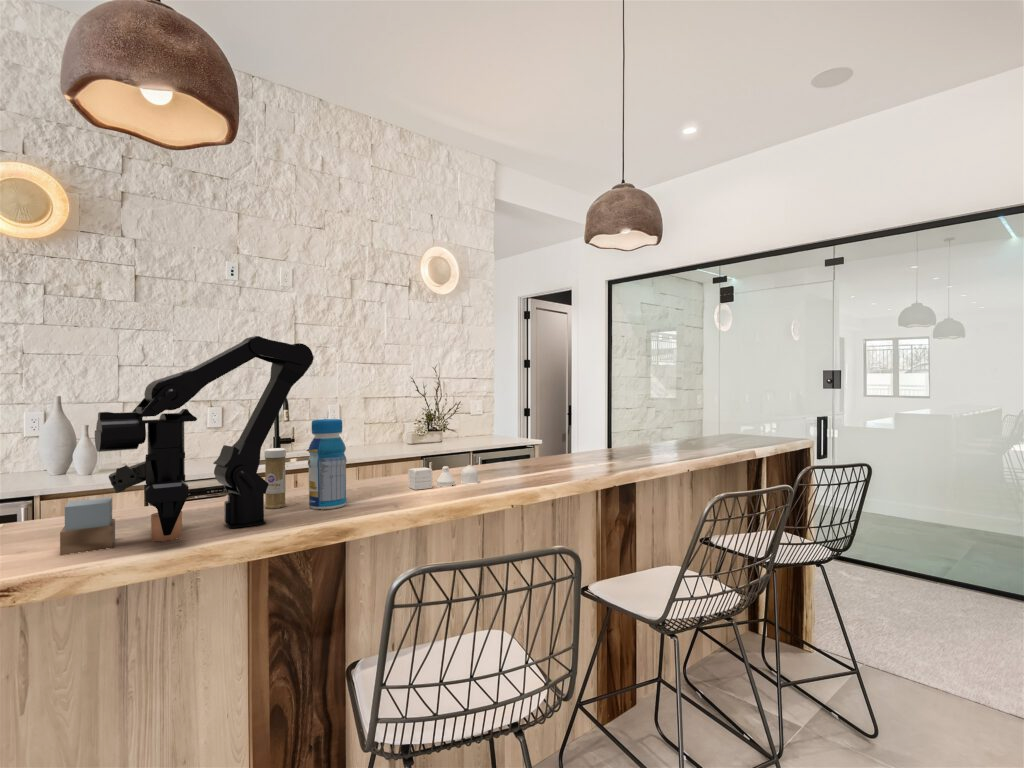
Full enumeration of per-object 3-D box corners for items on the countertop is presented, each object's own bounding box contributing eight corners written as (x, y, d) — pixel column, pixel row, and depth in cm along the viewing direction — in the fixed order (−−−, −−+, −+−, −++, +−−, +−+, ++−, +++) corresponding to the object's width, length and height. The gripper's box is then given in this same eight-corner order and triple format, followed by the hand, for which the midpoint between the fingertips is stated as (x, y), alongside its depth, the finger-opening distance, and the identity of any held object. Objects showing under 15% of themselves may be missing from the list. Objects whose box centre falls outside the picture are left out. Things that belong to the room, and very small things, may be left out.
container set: (415, 491, 144) (415, 470, 144) (408, 488, 148) (408, 468, 149) (482, 483, 154) (481, 464, 154) (473, 481, 159) (473, 462, 159)
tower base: (115, 540, 99) (115, 518, 99) (112, 549, 94) (112, 526, 94) (65, 546, 96) (65, 524, 96) (60, 556, 90) (60, 532, 90)
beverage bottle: (335, 511, 120) (334, 420, 121) (300, 509, 122) (299, 420, 122) (353, 503, 129) (352, 418, 129) (321, 502, 130) (320, 418, 131)
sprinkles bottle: (262, 509, 123) (262, 450, 123) (267, 505, 127) (267, 448, 128) (284, 508, 124) (283, 449, 124) (288, 504, 128) (287, 447, 128)
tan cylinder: (181, 533, 103) (181, 509, 103) (182, 538, 99) (182, 513, 99) (151, 537, 100) (151, 512, 100) (151, 543, 96) (150, 517, 96)
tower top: (112, 519, 99) (112, 497, 99) (109, 525, 94) (109, 502, 94) (70, 523, 96) (69, 501, 96) (64, 531, 90) (64, 507, 91)
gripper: (115, 446, 103) (115, 528, 103) (108, 455, 88) (108, 552, 87) (183, 442, 109) (184, 520, 109) (188, 450, 94) (189, 540, 94)
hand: (166, 532), depth 100 cm, fingers closed on tan cylinder, 5 cm apart
